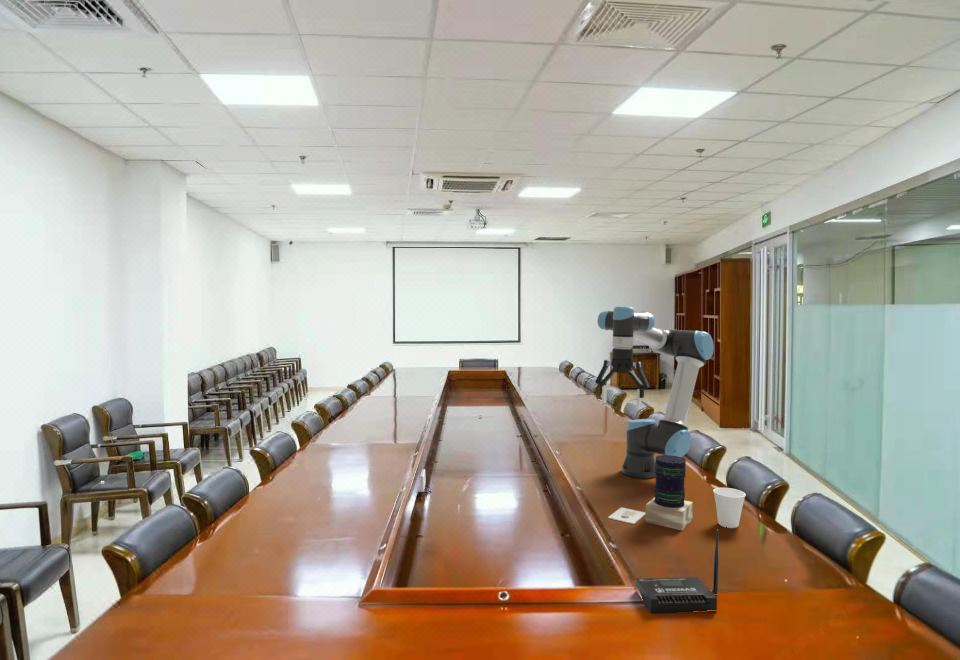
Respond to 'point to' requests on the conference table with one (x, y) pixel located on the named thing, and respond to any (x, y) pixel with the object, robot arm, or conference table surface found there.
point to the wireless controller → (679, 592)
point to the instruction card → (627, 515)
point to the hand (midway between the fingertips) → (621, 404)
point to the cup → (729, 506)
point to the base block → (669, 515)
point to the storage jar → (670, 481)
